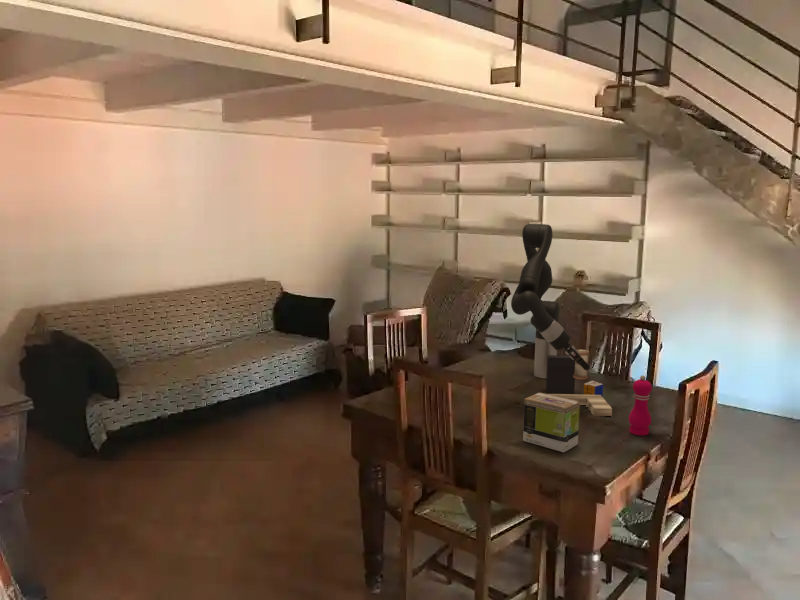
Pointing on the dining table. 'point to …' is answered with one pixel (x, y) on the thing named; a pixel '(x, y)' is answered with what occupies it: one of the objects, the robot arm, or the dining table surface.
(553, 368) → the black rectangular block
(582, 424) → the dining table surface
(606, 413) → the notch board
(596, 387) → the puzzle toy
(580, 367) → the spool
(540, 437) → the tea box
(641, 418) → the pepper mill
